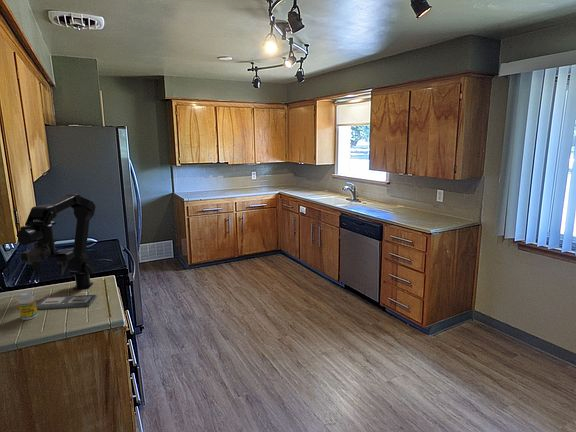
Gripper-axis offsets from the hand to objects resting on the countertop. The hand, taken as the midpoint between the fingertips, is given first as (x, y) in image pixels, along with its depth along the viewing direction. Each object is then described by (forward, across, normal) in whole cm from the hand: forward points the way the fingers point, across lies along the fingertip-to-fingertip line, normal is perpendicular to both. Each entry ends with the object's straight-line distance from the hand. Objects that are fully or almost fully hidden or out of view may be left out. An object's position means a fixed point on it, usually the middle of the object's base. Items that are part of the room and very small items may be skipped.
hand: (50, 275), depth 152 cm
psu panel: (+12, +5, +1) cm, 13 cm away
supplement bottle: (+12, -2, -11) cm, 17 cm away
